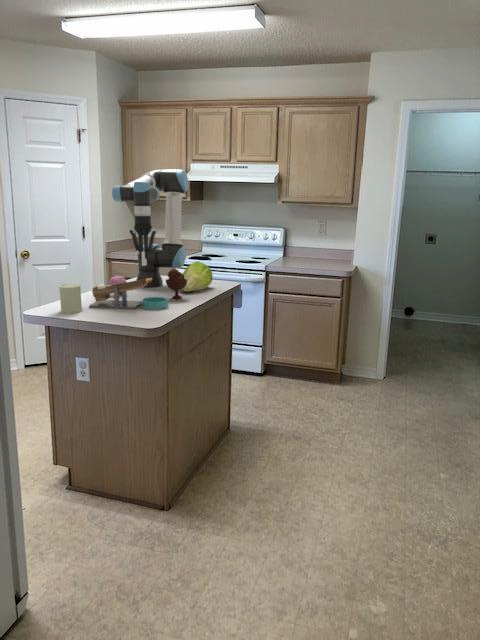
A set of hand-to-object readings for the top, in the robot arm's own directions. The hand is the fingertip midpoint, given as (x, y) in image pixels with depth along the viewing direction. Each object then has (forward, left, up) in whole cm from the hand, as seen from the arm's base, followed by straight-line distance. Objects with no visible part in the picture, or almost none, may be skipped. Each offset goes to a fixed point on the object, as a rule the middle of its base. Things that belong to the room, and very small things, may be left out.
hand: (144, 265), depth 246 cm
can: (+24, -27, -18) cm, 40 cm away
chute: (+6, -8, -13) cm, 17 cm away
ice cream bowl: (-10, +13, -18) cm, 24 cm away
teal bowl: (+10, +8, -18) cm, 22 cm away
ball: (+10, -18, -10) cm, 23 cm away
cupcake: (-14, -19, -18) cm, 30 cm away
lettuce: (-34, +17, -18) cm, 42 cm away
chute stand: (+10, -11, -18) cm, 23 cm away
